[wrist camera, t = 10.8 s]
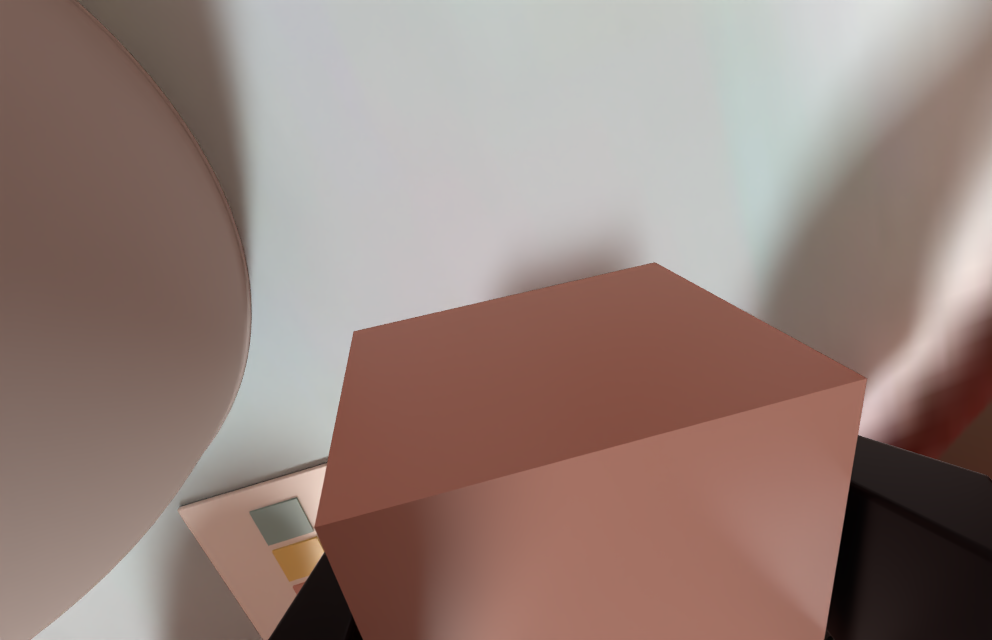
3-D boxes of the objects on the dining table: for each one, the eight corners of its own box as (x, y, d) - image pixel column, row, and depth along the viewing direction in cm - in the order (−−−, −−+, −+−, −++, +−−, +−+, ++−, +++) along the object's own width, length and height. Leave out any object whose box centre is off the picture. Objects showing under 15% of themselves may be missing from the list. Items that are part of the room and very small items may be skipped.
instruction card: (346, 457, 21) (345, 461, 21) (406, 593, 25) (406, 599, 24) (179, 507, 20) (176, 512, 20) (266, 639, 24) (265, 645, 24)
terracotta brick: (654, 262, 8) (868, 379, 4) (663, 490, 10) (814, 700, 6) (353, 331, 8) (314, 527, 4) (426, 558, 10) (444, 827, 6)
